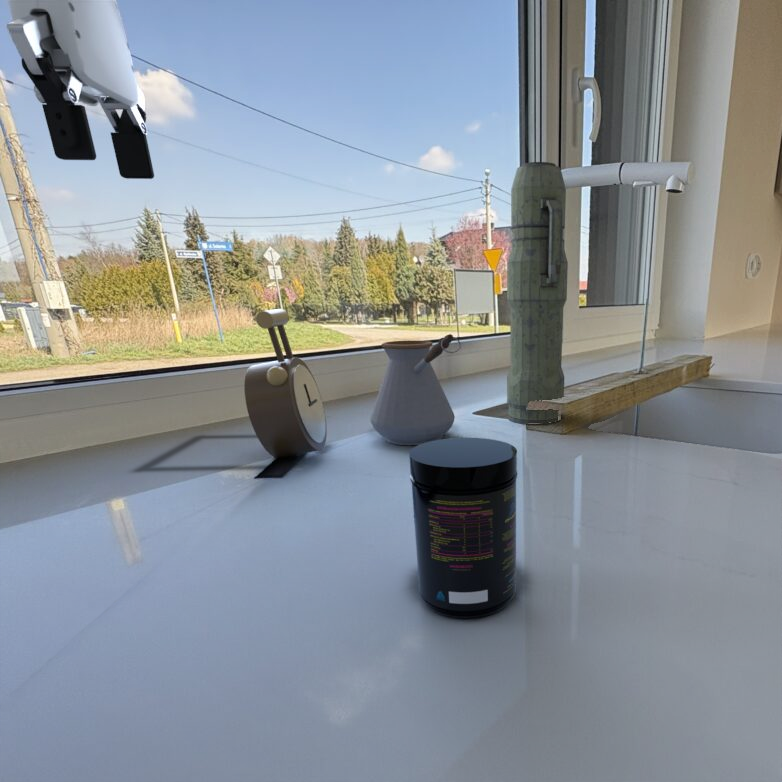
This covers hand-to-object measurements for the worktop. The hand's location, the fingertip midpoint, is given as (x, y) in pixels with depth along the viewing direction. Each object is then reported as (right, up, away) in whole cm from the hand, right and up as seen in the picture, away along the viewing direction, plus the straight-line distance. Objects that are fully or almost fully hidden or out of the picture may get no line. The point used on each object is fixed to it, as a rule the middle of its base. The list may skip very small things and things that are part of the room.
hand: (109, 169), depth 55 cm
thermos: (+42, -18, +36) cm, 59 cm away
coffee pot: (+27, -25, +20) cm, 42 cm away
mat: (+5, -27, +14) cm, 31 cm away
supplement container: (+36, -39, -15) cm, 55 cm away
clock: (+9, -19, +11) cm, 24 cm away
